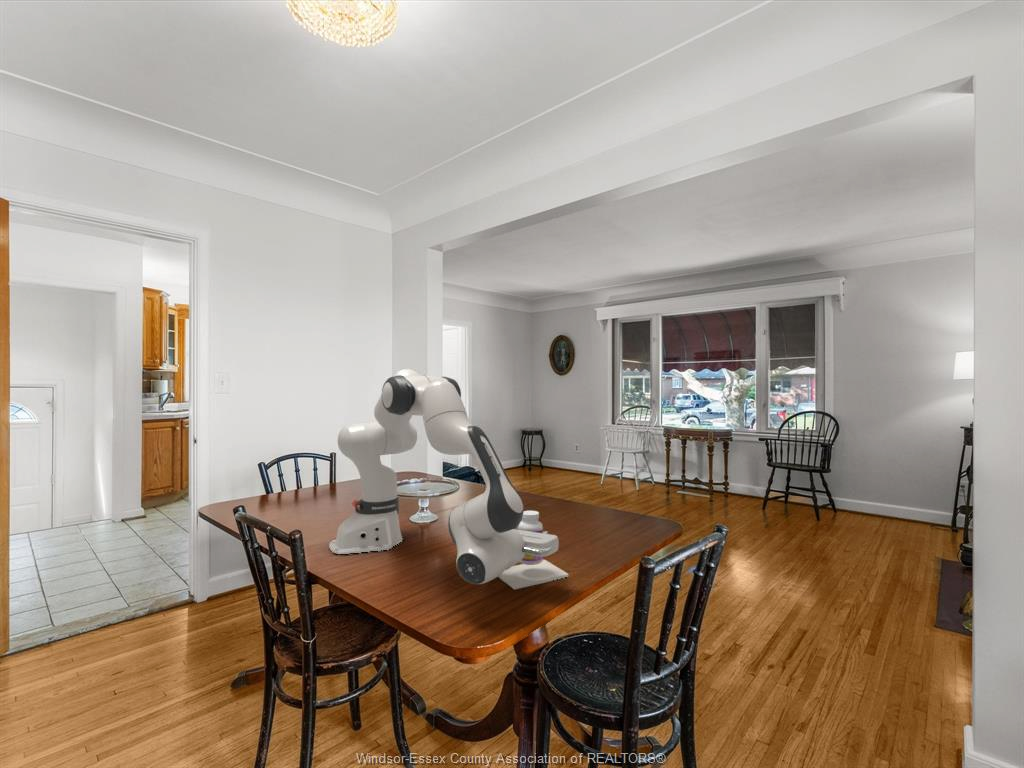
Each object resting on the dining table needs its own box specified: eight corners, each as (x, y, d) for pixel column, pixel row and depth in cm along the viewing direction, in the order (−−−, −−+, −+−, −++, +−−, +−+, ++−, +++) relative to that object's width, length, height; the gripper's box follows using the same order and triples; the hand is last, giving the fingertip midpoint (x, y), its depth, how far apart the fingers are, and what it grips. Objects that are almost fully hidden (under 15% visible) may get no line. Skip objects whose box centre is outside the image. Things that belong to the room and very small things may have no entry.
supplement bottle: (535, 567, 125) (534, 517, 125) (513, 563, 129) (512, 513, 129) (547, 559, 131) (547, 511, 131) (526, 555, 134) (525, 508, 135)
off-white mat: (514, 589, 121) (514, 586, 121) (493, 573, 132) (493, 570, 132) (568, 577, 128) (568, 574, 128) (544, 562, 139) (544, 559, 139)
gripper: (545, 540, 114) (568, 525, 126) (471, 529, 123) (498, 515, 136) (545, 567, 114) (568, 549, 126) (471, 554, 123) (499, 538, 135)
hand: (531, 532), depth 131 cm, fingers closed on supplement bottle, 7 cm apart
